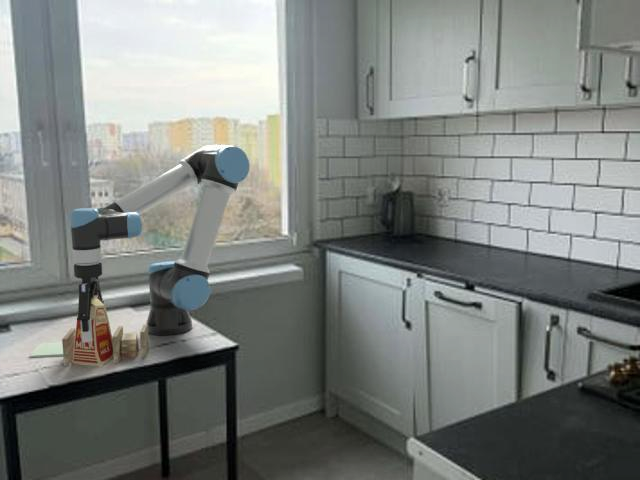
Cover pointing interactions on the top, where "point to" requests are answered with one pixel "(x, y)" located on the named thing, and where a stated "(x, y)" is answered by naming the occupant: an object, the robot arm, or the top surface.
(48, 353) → the mat
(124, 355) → the block
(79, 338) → the milk carton
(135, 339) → the offcut top
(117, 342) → the rack
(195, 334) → the top surface
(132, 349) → the offcut middle
